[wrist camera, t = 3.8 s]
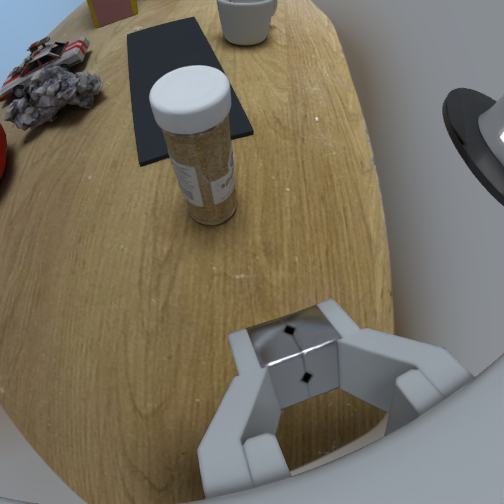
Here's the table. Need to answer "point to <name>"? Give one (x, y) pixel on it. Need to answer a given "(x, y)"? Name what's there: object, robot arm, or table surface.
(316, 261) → the table surface
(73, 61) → the toy car
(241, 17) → the cup
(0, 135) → the tomato
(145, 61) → the mat
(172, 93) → the sprinkles bottle
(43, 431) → the table surface
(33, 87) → the mineral specimen
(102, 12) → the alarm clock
